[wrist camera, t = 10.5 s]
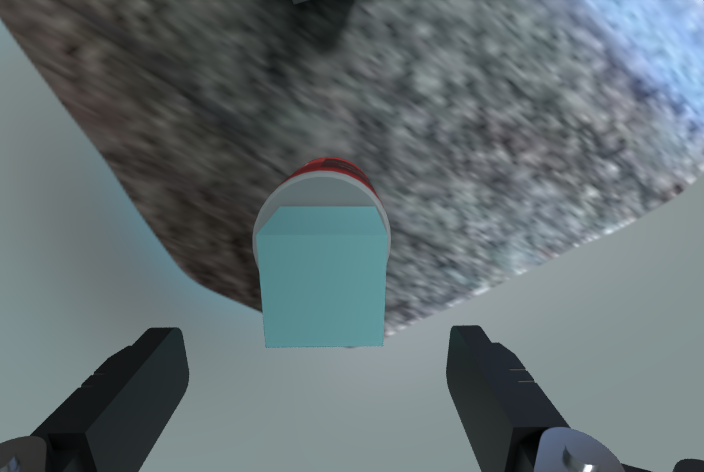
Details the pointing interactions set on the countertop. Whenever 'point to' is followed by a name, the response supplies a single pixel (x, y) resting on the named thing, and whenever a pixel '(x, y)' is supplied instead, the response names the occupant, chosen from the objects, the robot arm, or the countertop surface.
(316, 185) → the canned food
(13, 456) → the robot arm
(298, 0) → the slate block
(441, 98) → the countertop surface
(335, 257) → the teal block
